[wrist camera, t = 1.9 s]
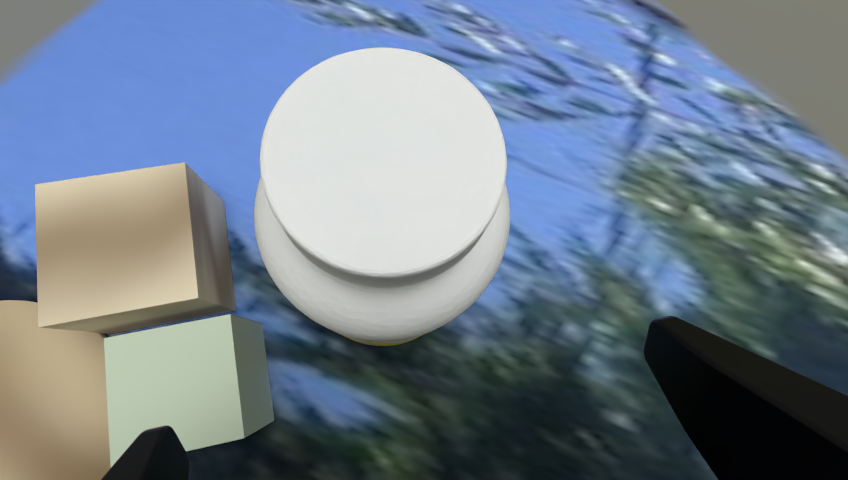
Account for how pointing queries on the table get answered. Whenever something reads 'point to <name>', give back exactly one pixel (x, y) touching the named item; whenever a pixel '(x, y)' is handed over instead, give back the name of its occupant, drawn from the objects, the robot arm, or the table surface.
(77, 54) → the table surface
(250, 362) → the sage block
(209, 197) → the beech block
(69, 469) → the coaster
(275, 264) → the supplement bottle
